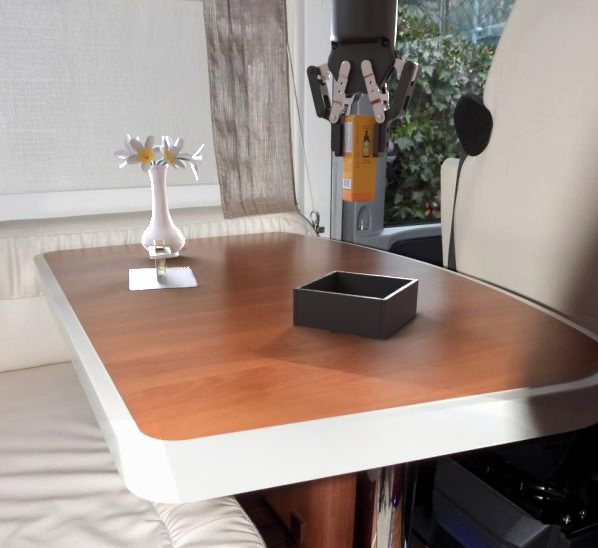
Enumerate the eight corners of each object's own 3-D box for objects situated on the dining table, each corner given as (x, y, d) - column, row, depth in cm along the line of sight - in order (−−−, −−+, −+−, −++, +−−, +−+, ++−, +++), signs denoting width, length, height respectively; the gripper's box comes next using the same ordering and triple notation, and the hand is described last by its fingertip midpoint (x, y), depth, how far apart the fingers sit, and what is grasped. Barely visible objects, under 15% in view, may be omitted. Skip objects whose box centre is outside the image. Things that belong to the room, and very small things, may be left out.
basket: (415, 324, 93) (418, 279, 90) (383, 350, 82) (385, 300, 80) (333, 313, 99) (334, 270, 96) (293, 335, 88) (292, 288, 85)
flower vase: (215, 258, 139) (209, 134, 129) (128, 264, 133) (115, 134, 123) (201, 248, 150) (195, 133, 140) (121, 253, 144) (108, 133, 134)
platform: (189, 266, 131) (187, 234, 128) (198, 286, 115) (195, 249, 112) (129, 269, 128) (126, 236, 126) (129, 290, 112) (125, 252, 110)
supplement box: (363, 199, 83) (368, 114, 79) (375, 202, 80) (380, 114, 76) (340, 199, 82) (343, 114, 78) (350, 202, 79) (354, 114, 75)
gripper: (435, -5, 72) (424, 157, 79) (321, 5, 78) (320, 154, 85) (415, -17, 66) (404, 159, 73) (293, -5, 72) (293, 157, 79)
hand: (359, 156), depth 79 cm, fingers closed on supplement box, 4 cm apart
